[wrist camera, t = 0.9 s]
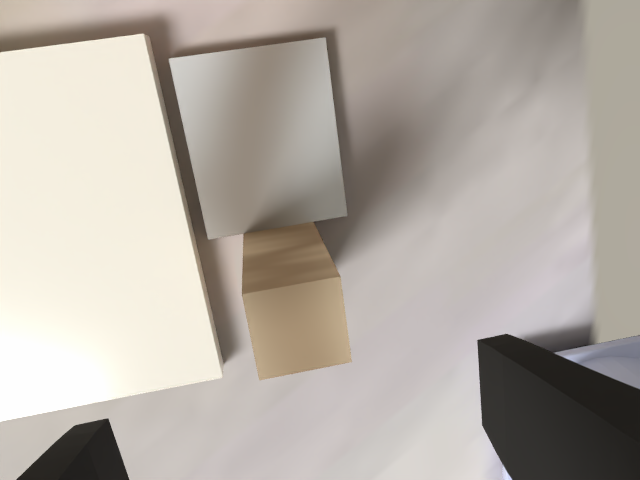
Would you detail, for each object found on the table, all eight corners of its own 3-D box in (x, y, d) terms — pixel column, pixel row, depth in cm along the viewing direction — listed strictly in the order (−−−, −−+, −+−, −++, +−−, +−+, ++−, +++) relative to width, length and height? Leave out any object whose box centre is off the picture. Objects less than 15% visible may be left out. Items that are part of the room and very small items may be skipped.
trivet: (149, 36, 16) (143, 33, 15) (223, 363, 19) (222, 377, 18) (-119, 71, 15) (-143, 71, 14) (12, 404, 19) (-1, 421, 18)
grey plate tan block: (323, 39, 16) (362, 12, 11) (352, 274, 19) (396, 353, 13) (171, 59, 16) (128, 43, 10) (222, 297, 19) (212, 389, 13)
